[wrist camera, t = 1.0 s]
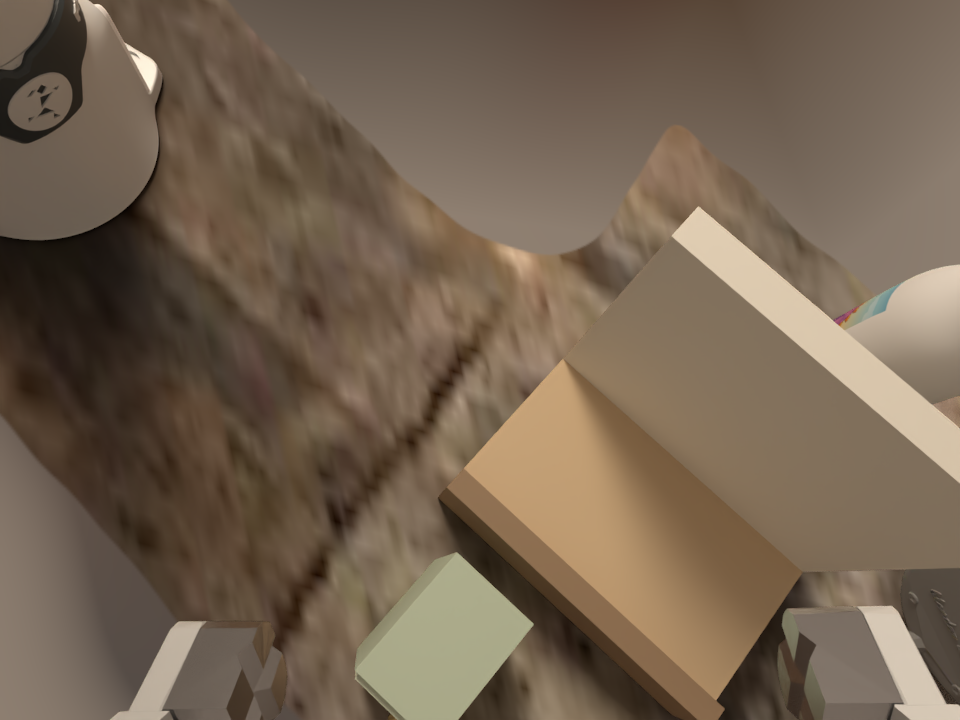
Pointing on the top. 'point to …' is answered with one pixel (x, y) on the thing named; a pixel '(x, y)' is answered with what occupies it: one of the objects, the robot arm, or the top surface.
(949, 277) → the milk bottle
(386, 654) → the cabinet
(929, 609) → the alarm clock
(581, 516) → the wall board
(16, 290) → the top surface
